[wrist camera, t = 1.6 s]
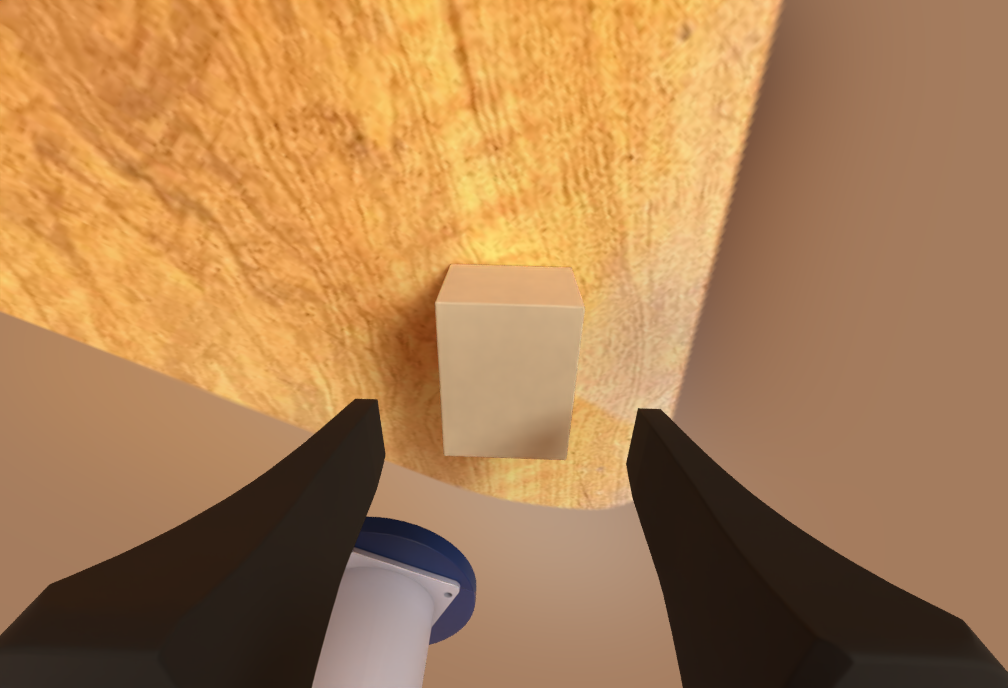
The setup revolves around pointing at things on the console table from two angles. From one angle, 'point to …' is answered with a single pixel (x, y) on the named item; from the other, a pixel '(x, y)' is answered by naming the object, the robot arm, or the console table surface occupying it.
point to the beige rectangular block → (508, 360)
